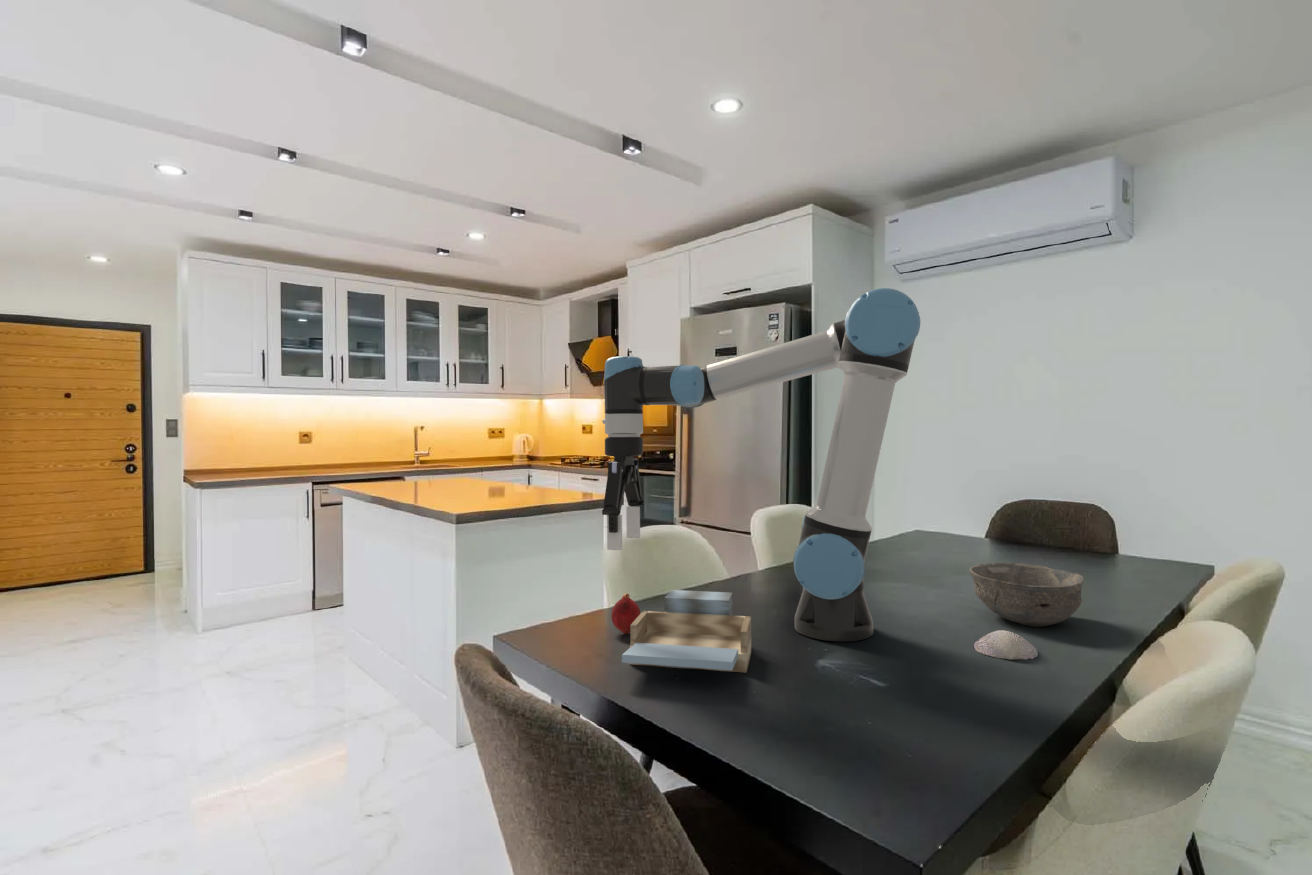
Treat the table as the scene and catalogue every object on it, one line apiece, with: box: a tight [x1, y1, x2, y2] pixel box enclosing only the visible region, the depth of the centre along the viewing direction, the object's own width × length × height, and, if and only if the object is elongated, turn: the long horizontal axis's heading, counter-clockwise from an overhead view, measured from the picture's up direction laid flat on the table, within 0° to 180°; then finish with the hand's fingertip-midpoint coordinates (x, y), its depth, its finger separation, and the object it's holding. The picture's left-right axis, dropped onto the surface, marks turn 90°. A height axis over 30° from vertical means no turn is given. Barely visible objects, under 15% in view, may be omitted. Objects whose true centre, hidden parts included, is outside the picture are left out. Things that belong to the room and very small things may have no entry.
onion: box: [611, 592, 642, 635], centre depth 128 cm, size 6×6×8 cm
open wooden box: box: [628, 589, 752, 673], centre depth 117 cm, size 20×17×9 cm
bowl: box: [969, 562, 1085, 627], centre depth 134 cm, size 21×21×10 cm
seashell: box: [973, 629, 1039, 661], centre depth 116 cm, size 10×6×10 cm
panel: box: [621, 643, 738, 670], centre depth 105 cm, size 17×2×9 cm
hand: (624, 543), depth 128 cm, fingers open, 13 cm apart
